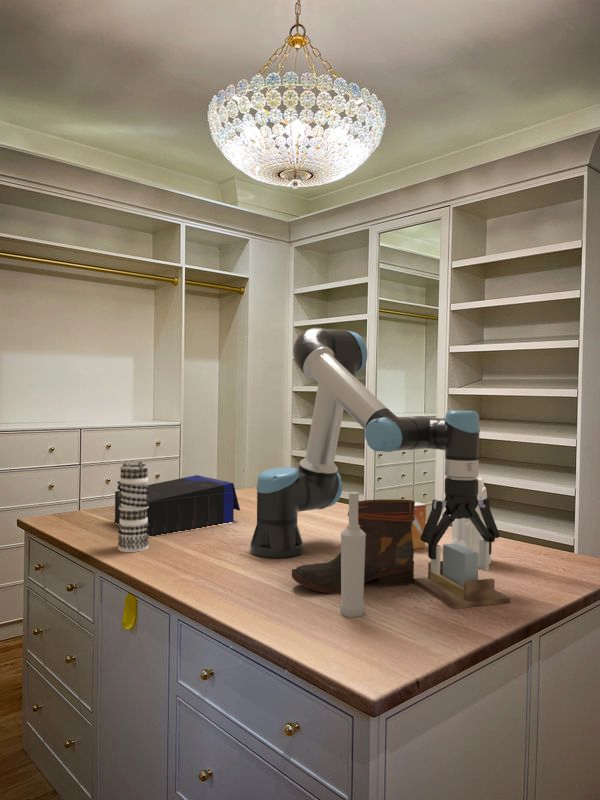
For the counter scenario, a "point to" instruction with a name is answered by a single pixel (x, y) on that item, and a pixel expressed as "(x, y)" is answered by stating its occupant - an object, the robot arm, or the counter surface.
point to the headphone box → (187, 504)
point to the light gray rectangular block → (459, 563)
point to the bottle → (352, 563)
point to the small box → (418, 525)
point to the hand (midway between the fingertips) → (459, 570)
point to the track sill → (461, 590)
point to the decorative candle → (133, 507)
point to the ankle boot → (372, 549)
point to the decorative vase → (469, 527)
